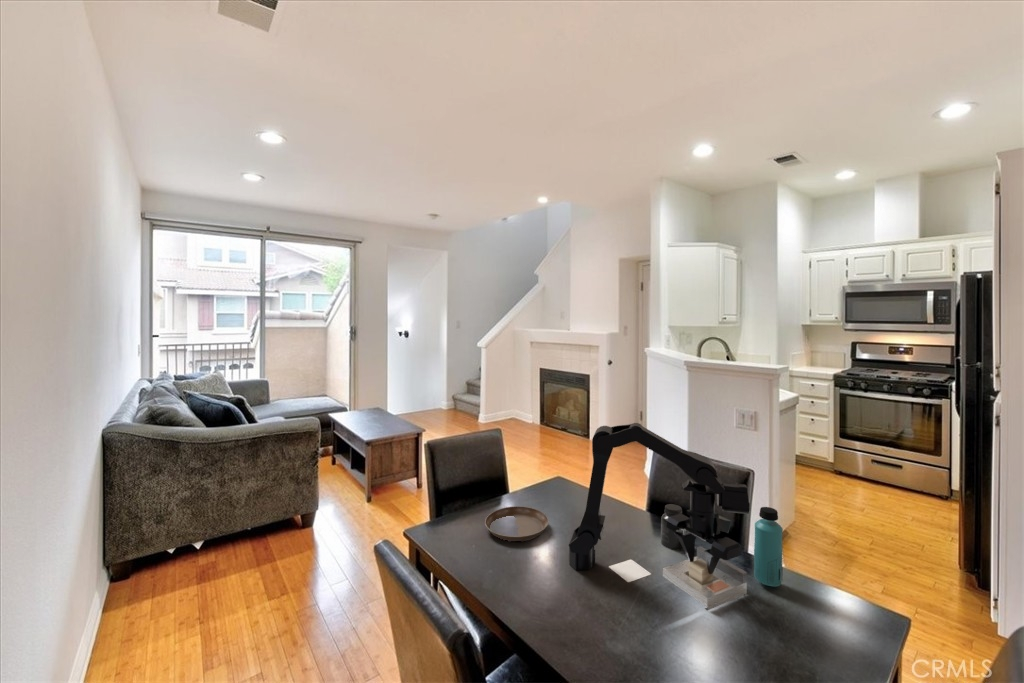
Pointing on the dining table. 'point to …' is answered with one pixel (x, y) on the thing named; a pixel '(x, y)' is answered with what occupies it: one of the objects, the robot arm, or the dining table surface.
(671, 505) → the supplement bottle
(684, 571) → the plate
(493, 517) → the plant saucer
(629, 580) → the white square tile
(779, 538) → the beverage bottle
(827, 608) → the dining table surface
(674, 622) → the dining table surface
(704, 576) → the birch peg
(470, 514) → the dining table surface
